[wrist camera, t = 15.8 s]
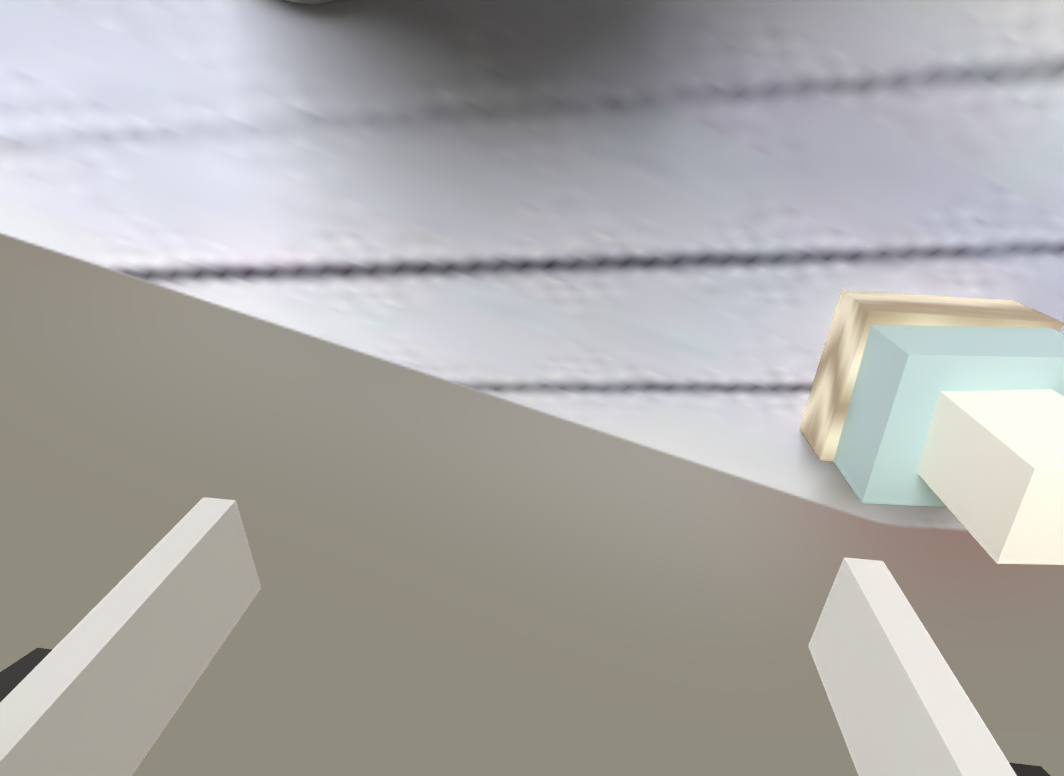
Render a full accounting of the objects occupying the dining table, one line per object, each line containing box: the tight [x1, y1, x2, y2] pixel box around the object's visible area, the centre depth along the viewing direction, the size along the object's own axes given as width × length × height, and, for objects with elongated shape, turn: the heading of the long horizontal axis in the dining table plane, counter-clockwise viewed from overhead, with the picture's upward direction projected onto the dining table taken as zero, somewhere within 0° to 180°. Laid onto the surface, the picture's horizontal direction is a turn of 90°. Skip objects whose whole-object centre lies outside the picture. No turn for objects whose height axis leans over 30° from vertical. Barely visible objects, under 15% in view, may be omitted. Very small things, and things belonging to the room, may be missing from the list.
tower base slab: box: [800, 290, 1064, 462], centre depth 40 cm, size 12×12×5 cm
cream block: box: [917, 389, 1064, 565], centre depth 30 cm, size 6×6×8 cm
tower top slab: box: [834, 325, 1064, 507], centre depth 36 cm, size 11×11×5 cm
